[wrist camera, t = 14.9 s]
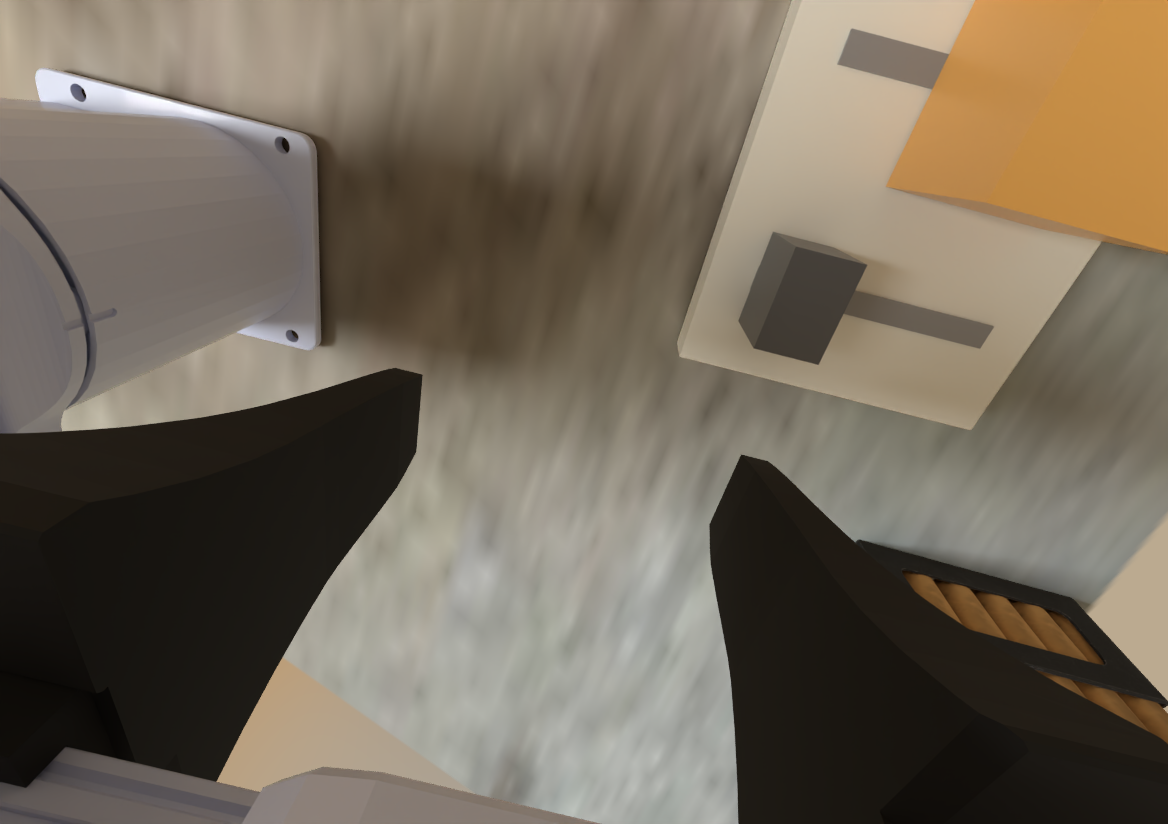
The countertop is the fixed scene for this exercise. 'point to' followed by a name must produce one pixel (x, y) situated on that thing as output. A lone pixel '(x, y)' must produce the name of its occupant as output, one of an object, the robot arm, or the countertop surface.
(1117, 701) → the ammunition clip
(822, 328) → the block
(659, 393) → the countertop surface
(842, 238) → the panel
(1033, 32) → the cap
